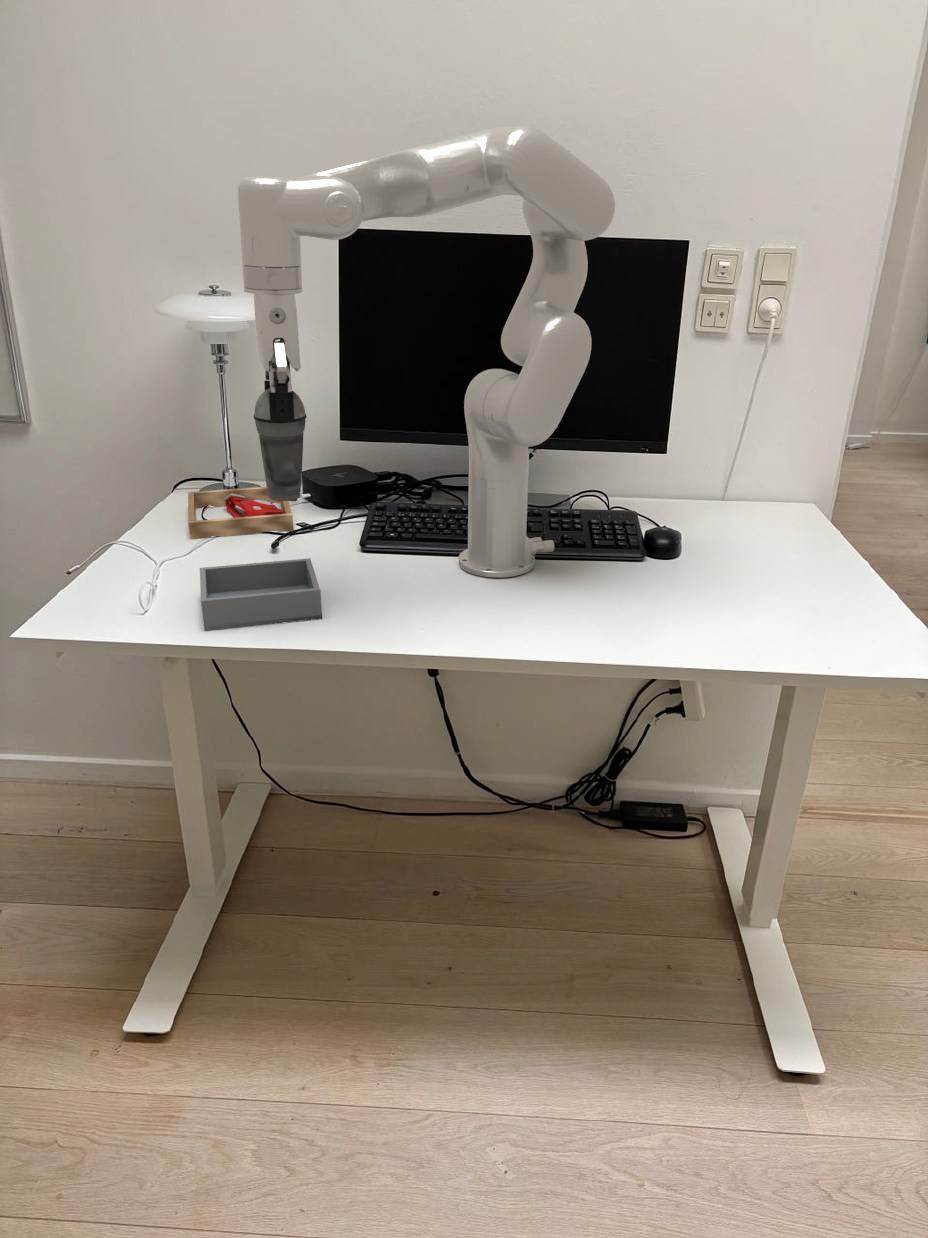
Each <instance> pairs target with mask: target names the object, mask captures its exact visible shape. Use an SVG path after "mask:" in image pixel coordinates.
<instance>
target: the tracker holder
mask: <svg viewBox="0 0 928 1238" xmlns="http://www.w3.org/2000/svg"><path fill="white" fill-rule="evenodd" d="M244 498H245V497H244V496H240V495H236V494H232V493H231V494H230V495H228V496H227V497H225V498H224V499H223V501H226V502H225V504H226V506H225V508H226V510H227V512H228V513H229V514H230V515H231V516H232V518H237V517H250V516H263V515H276V514H283V511H282V508H278V507H277V506H276V504H274V503H269V502H266V501H263V500H256V499H252V500H248V501H243V499H244ZM236 506H237V507H238V508H240V509H241V510H243V511H244V512H245V516H244V515H243V514H242V513H241V512H239V510H238V509H237V507H236Z"/></svg>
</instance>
